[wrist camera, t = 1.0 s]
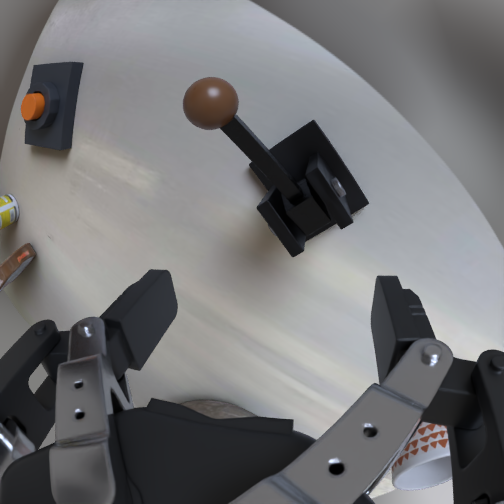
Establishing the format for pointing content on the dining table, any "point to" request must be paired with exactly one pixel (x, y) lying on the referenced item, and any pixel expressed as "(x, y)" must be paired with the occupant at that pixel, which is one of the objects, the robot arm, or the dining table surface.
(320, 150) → the switch bracket
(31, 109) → the button
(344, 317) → the dining table surface
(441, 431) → the planter
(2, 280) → the tin
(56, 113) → the button base
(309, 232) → the ball-knob lever
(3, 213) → the supplement bottle
